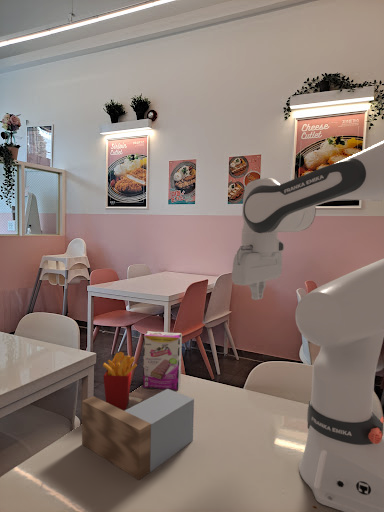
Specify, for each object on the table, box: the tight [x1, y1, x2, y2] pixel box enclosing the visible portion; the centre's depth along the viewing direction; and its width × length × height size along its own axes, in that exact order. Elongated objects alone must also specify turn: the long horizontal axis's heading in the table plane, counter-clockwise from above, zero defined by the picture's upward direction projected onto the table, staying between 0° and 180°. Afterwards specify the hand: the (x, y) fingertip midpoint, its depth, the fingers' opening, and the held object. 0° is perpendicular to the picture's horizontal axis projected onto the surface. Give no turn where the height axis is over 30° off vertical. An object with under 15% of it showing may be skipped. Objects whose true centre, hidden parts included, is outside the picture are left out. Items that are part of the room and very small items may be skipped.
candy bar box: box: [142, 330, 183, 391], centre depth 110 cm, size 11×5×16 cm, turn 84°
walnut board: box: [81, 395, 151, 481], centre depth 76 cm, size 18×3×10 cm, turn 53°
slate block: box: [125, 389, 195, 473], centre depth 80 cm, size 8×14×10 cm, turn 143°
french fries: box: [102, 351, 138, 411], centre depth 98 cm, size 9×8×15 cm
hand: (257, 299), depth 92 cm, fingers closed
